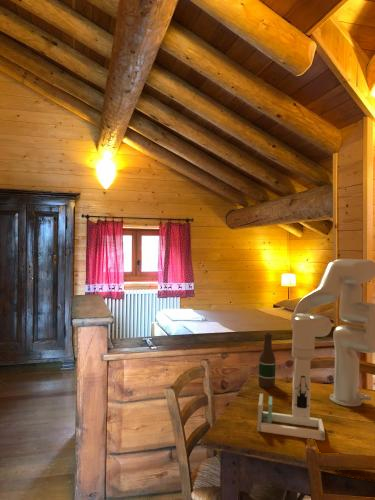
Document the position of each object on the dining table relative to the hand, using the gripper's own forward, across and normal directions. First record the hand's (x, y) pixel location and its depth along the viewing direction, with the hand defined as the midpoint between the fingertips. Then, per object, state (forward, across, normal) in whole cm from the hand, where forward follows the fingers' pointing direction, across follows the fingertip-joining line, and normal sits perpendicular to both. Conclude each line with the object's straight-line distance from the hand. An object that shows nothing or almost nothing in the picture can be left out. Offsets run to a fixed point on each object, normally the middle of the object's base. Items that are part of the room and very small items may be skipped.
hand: (301, 403), depth 134 cm
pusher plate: (+9, 0, -11) cm, 15 cm away
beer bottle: (+9, -41, -13) cm, 44 cm away
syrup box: (+5, 0, 0) cm, 5 cm away
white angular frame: (+9, 0, -4) cm, 10 cm away
